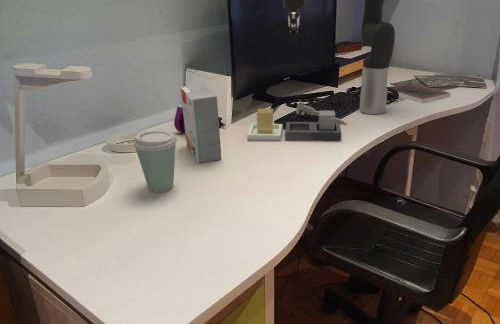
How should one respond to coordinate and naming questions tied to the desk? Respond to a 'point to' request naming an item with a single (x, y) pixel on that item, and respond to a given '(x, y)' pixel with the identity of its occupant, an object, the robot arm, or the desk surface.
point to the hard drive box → (201, 122)
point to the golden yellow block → (265, 121)
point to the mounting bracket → (182, 120)
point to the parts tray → (275, 136)
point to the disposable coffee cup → (157, 158)
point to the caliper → (313, 112)
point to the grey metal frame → (310, 132)
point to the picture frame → (420, 92)
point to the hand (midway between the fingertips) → (293, 42)
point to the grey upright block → (326, 120)
